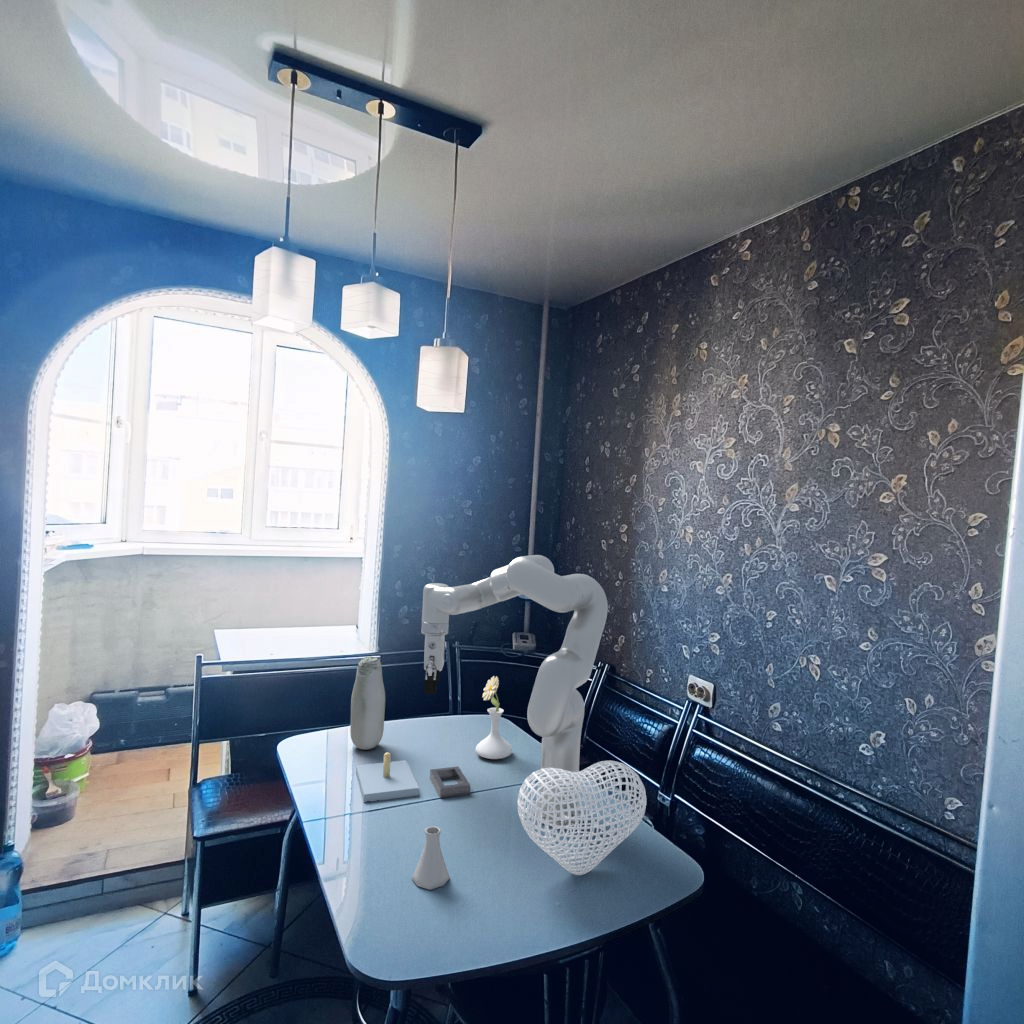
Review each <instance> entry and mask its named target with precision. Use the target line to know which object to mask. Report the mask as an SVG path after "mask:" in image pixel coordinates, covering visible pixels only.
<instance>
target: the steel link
mask: <svg viewBox="0 0 1024 1024" xmlns="http://www.w3.org/2000/svg"><path fill="white" fill-rule="evenodd" d="M447 779H454V780H455V782H456V784H448V785H445V783H444V782H443V781H442V780H447ZM429 780H430V782H431V784H432V785H433V787H434V789H435V791H436V793H437V795H438V797H439V799H446V798H453V797H460V796H468V795H469V796H471V783H470V782H469V781H468V779H467V777H466V776H465V774H464V773H463V771H462V770H461V768H460V767H459V766H451V767H443V768H441V767H440V768H432V769H431V768H430V769H429Z"/></svg>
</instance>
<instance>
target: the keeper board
mask: <svg viewBox="0 0 1024 1024" xmlns="http://www.w3.org/2000/svg"><path fill="white" fill-rule="evenodd" d="M411 770H412V769H411V768H410V766H409V763H408V761H407V760H405V759H403V760H396V761H391V753H390V752H385V753H384V754H383V762H377V763H366V764H359V765H358V764H357V765H355V774H356V775H355V776H356V779H357V778H358V779H357V783H358V782H359V783H358V786H360V787H359V790H360V794H361V797H363V798H362V801H364V802H363V803H368V802H367V801H371V802H377V800H379V801H385V800H387V801H388V800H395V799H402V798H410V797H418V796H419V791H420V787H419V784H418V783H417V781H416V779H415V776H414V775H413V774H414V773H413V771H411Z"/></svg>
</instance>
